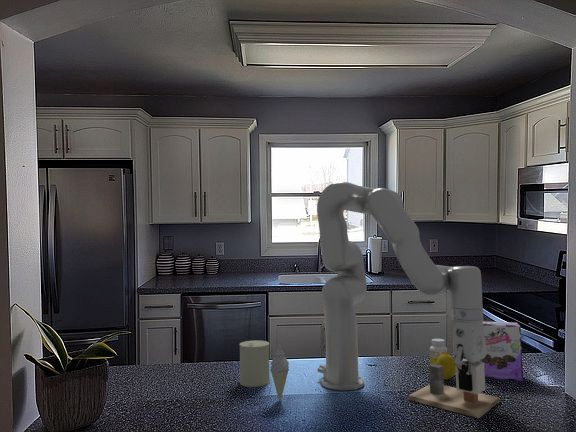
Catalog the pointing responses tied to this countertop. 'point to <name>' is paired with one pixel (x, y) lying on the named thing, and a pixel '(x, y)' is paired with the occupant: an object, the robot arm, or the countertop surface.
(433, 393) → the stand
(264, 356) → the can
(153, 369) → the countertop surface
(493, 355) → the candy box
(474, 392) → the white rectangular block
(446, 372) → the lemon
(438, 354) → the supplement bottle
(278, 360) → the ice cream cone
